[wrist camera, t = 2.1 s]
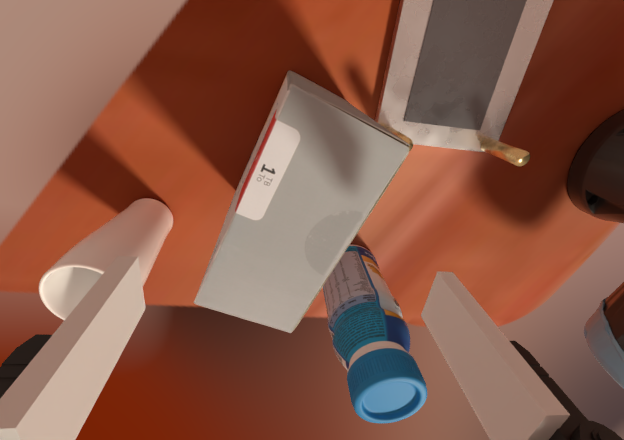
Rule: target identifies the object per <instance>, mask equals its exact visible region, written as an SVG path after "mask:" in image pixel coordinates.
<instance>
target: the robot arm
mask: <svg viewBox="0 0 624 440" xmlns="http://www.w3.org/2000/svg"><path fill="white" fill-rule="evenodd" d="M568 193H569V196H570V199H571V201H572V202H573V204H574V205H575V206H576V207H577V208H579V209H580V210H582V211H584V212H586V213H588V214H590V215H592V216H594V217H596V218H599V219H602V220H607V221H613V222H619V223H624V110H622V111H620V112H618V113H617V114H615V115H613V116H612V117H610V118H609V119H608V120H606V121H605V122H604V123H603V124H601V125H600V126H599V127H598V128H597V129H596V130H595V131H594V132H593V133H592V134H591V135H590V136H589V137H588V138H587V140H586V141H585V142H584V144H583V145H582V146H581V148H580V149H579V151H578V153H577V154H576V156H575V158H574V160H573V163H572V165H571V168H570V171H569V176H568ZM144 310H145V301H144V294H143V287H142V280H141V274H140V267H139V260H138V257H132V256H117V257H116V259H115V260H114V261H113V262H112V263H111V265H110V266H109V267H108V268H107V270H106V271H105V272H104V273H103V274H102V276H101V277H100V278H99V279H98V280H97V282H96V283H95V284H94V285H93V287H92V288H91V289H90V290H89V291H88V293H87V294H86V295H85V296H84V297H83V299H82V300H81V301H80V302H79V304H78V305H77V306H76V307H75V308H74V310H73V311H72V312H71V313H70V314H69V316H68V317H67V318H66V319H65V321H64V322H63V323H62V324H61V325H60V327H59V328H58V329H57V330H56V332H55V333H54V334H53V335H35V336H34V337H32V338H31V339H29V340H28V341H26V342H25V343H23V344H22V345H20V346H19V347H17V348H16V349H15V350H14V351H13V352H12V353H11V355H10V356H9V357H8V358H7V359H6V360H5V361H4V362H3V363H2V366H1V367H0V440H75V439H76V437H77V435H78V434H79V432H80V430H81V428H82V426H83V424H84V422H85V420H86V419H87V417H88V415H89V413H90V411H91V409H92V407H93V405H94V404H95V402H96V400H97V398H98V396H99V394H100V393H101V390H102V389H103V387H104V385H105V383H106V381H107V379H108V378H109V376H110V374H111V372H112V370H113V368H114V366H115V365H116V363H117V361H118V359H119V357H120V355H121V353H122V351H123V349H124V348H125V346H126V344H127V342H128V340H129V338H130V336H131V335H132V333H133V331H134V329H135V327H136V325H137V323H138V321H139V320H140V318H141V316H142V314H143V312H144ZM421 317H422V319H423V320H424V322H425V324H426V326H427V328H428V329H429V331H430V333H431V335H432V336H433V338H434V340H435V342H436V344H437V345H438V347H439V349H440V351H441V353H442V354H443V356H444V358H445V360H446V362H447V363H448V365H449V367H450V369H451V370H452V372H453V374H454V376H455V377H456V379H457V381H458V383H459V385H460V386H461V388H462V390H463V392H464V394H465V395H466V397H467V399H468V401H469V403H470V404H471V406H472V408H473V410H474V412H475V413H476V415H477V417H478V419H479V420H480V422H481V424H482V426H483V428H484V430H485V431H486V433H487V434H488V437H489V438H490V440H623V439H622V438H621V437H619V436H618V435H617V434H616V433H615V432H613V431H612V430H610V429H609V428H607V427H605V426H604V425H602V424H599V423H597V422H594V421H588V420H587V418H586V417H585V416H584V415H583V414H582V413H581V412H580V411H579V410H578V408H577V407H576V406H575V405H574V404H573V402H572V401H571V400H570V399H569V398H568V397H567V395H566V394H565V393H564V392H563V391H562V390H561V389H560V387H559V386H558V385H557V384H556V383H555V381H554V380H553V379H552V378H550V377H549V374H548V373H547V372H546V371H545V370H544V369H543V368H542V367H540V364H539V363H538V362H537V361H536V359H535V358H534V357H533V356H532V355H531V354H530V352H528V351H527V350H526V349H525V348H523V347H522V346H521V345H520V344H518V343H517V342H516V341H509V340H508V339H507V338H506V336H505V335H504V334H503V333H502V332H501V330H500V329H499V328H498V327H497V325H496V324H495V323H494V322H493V321H492V319H491V318H490V317H489V316H488V315H487V313H486V312H485V311H484V310H483V308H482V307H481V306H480V305H479V304H478V302H477V301H476V300H475V299H474V298H473V296H472V295H471V294H470V293H469V291H468V290H467V289H466V288H465V287H464V285H463V284H462V283H461V282H460V281H459V279H458V278H457V277H456V276H455V275H454V273H453V272H437V274H436V277H435V280H434V282H433V285H432V288H431V290H430V293H429V295H428V298H427V301H426V303H425V306H424V309H423V311H422V314H421ZM584 334H585V338H586V341H587V344H588V347H589V348H590V350H591V352H592V353H593V355H594V356H595V358H596V359H597V360H598V362H599V363H600V364H601V365H602V366H603V368H604V369H605V370H606V371H607V372H608V373H609V374H610V376H611V377H612V378H613V379H614V380H615V381H616V382H617V383H618V384H619V385H620V386H621V387H622V388H623V389H624V282H623V283H622V284H621V285H620V286H619V287H618V288H617V289H616V290H615V291H614V292H613V293H612V294H611V295H610V296H609V297H607V298H605V299H604V300H603V301H601V303H600V306H599V308H598V309H597V310H596V312H595V313H594V314H593V315H592V316H591V317H590V318H589V320H588V321H587V322H586V324H585V327H584Z"/></svg>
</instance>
